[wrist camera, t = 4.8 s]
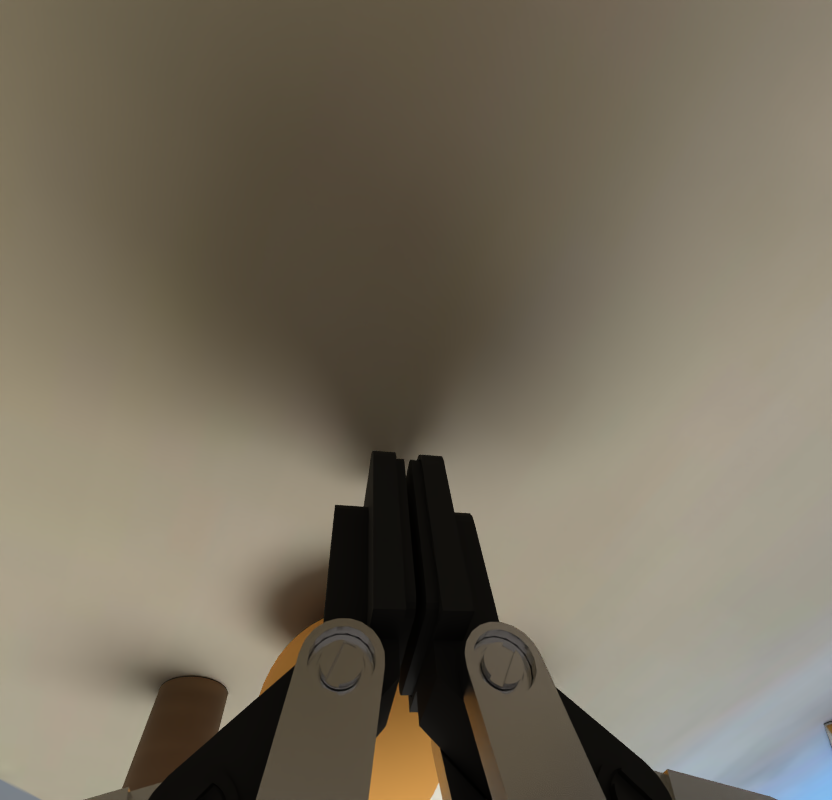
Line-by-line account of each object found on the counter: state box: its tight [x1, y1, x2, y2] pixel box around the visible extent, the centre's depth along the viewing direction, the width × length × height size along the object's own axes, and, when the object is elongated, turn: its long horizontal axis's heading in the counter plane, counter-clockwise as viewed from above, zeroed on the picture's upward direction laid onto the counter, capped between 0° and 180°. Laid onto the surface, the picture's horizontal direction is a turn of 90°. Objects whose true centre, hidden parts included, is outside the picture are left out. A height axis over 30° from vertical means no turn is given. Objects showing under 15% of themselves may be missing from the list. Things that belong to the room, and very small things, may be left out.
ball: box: [259, 618, 439, 800], centre depth 14 cm, size 6×6×6 cm
